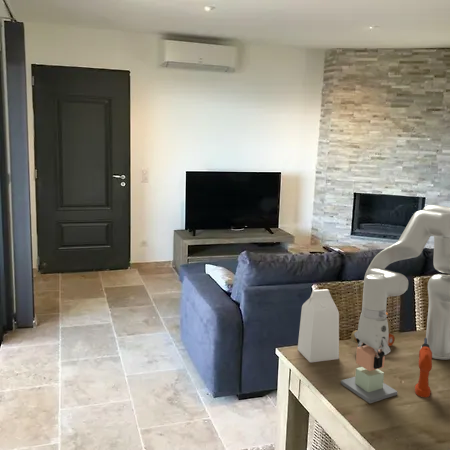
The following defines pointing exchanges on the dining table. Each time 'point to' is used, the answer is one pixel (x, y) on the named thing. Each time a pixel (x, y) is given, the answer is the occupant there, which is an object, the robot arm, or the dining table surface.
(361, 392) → the gray plate
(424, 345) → the toy drill
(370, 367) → the terracotta block
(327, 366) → the dining table surface
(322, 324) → the milk
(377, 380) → the sage block
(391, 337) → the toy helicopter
